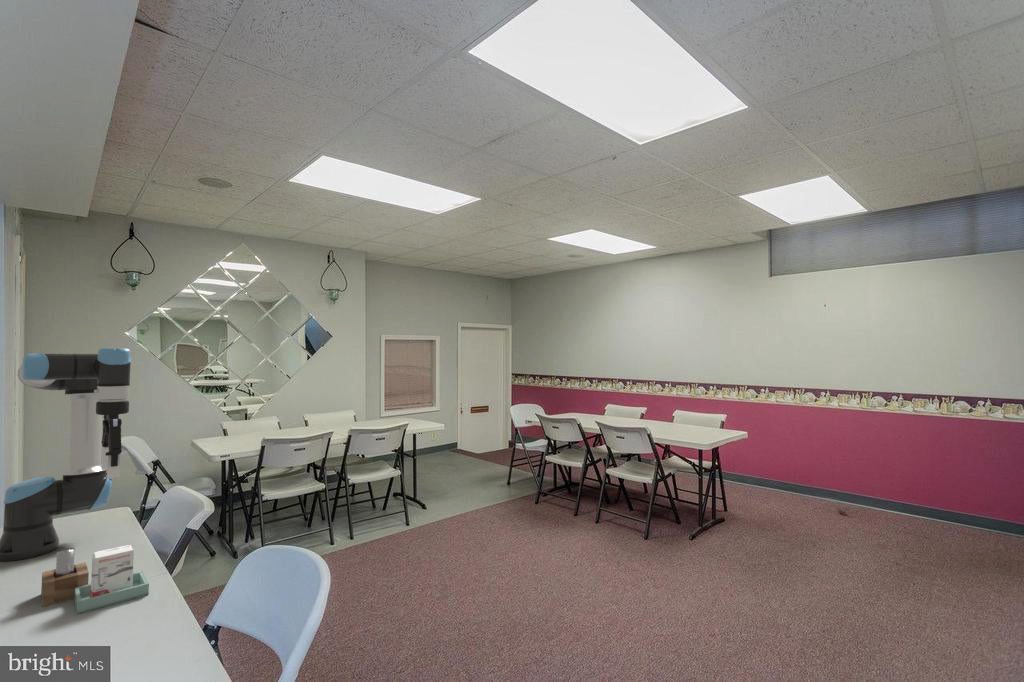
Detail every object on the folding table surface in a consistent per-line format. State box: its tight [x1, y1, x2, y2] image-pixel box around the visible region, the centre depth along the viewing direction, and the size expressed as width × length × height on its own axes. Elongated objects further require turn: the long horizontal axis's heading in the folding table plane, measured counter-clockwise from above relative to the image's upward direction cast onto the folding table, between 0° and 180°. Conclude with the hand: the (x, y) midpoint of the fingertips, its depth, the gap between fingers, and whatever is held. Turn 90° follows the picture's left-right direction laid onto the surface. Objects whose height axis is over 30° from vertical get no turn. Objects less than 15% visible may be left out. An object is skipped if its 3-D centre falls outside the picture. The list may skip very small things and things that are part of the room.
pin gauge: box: [55, 547, 75, 577], centre depth 132 cm, size 4×4×12 cm
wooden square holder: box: [40, 562, 90, 607], centre depth 132 cm, size 9×9×6 cm
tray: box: [73, 570, 150, 615], centre depth 131 cm, size 11×15×3 cm
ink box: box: [90, 544, 135, 598], centre depth 132 cm, size 9×5×12 cm, turn 135°
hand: (110, 473), depth 141 cm, fingers open, 13 cm apart
